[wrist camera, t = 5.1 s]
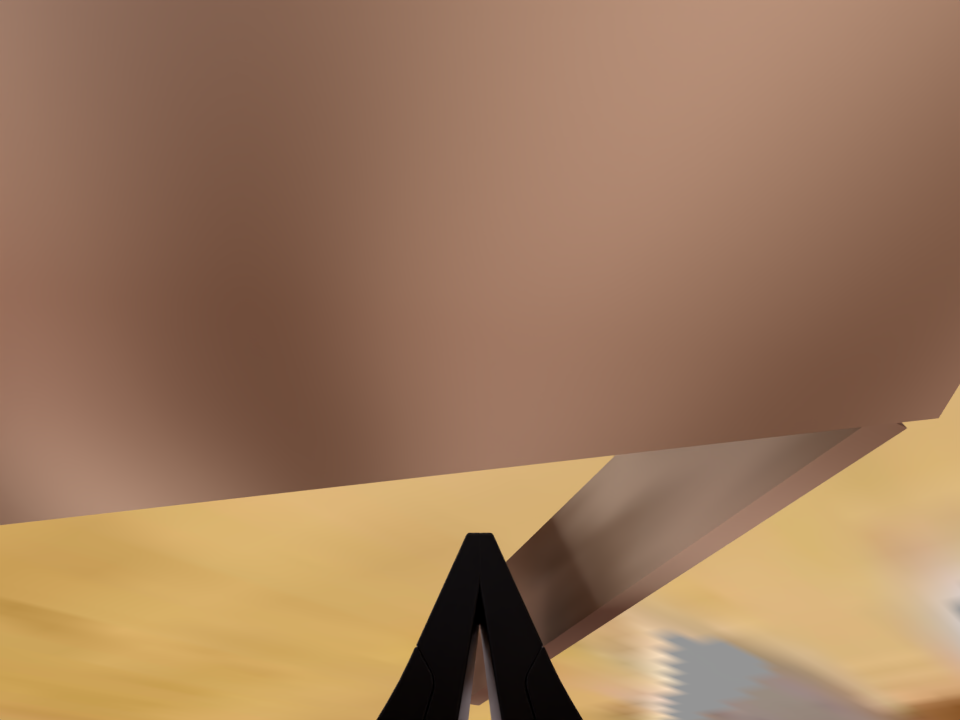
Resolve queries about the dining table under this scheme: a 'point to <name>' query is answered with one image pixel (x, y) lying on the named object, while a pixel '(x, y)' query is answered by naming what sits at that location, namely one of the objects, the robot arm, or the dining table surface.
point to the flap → (662, 524)
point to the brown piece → (461, 236)
